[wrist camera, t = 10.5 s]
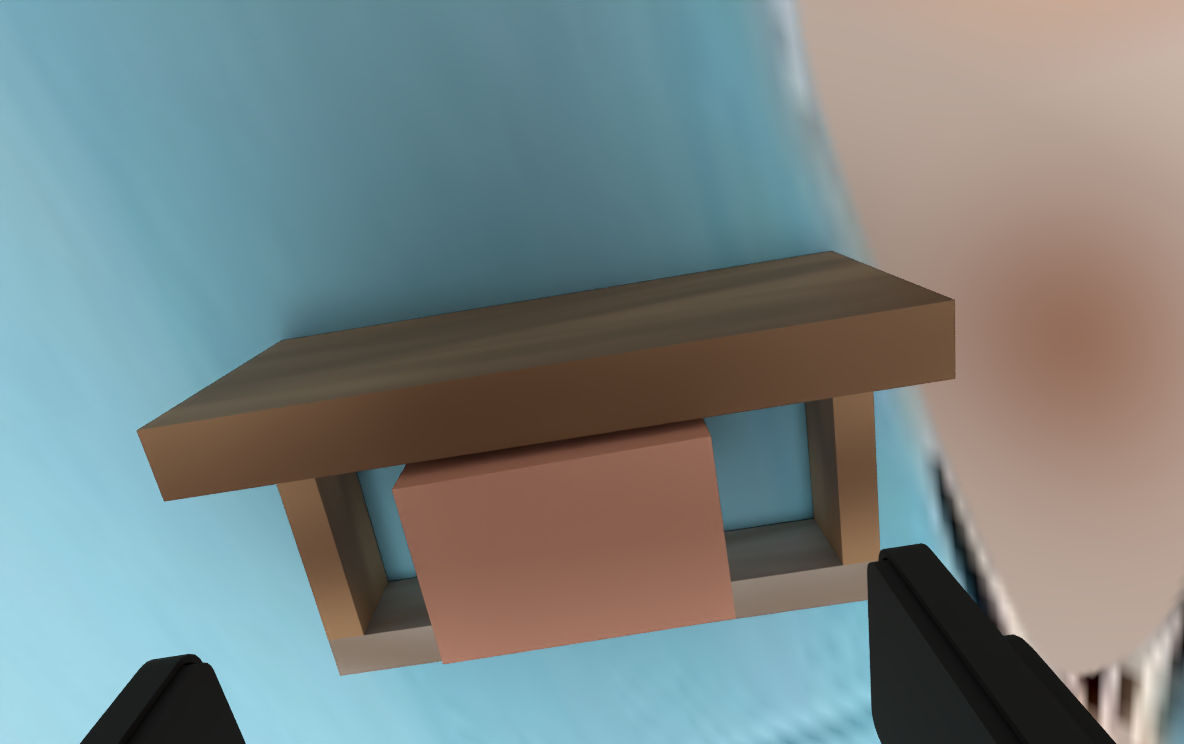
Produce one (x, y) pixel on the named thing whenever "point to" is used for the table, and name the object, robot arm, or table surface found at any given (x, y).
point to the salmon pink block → (568, 540)
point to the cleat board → (567, 418)
